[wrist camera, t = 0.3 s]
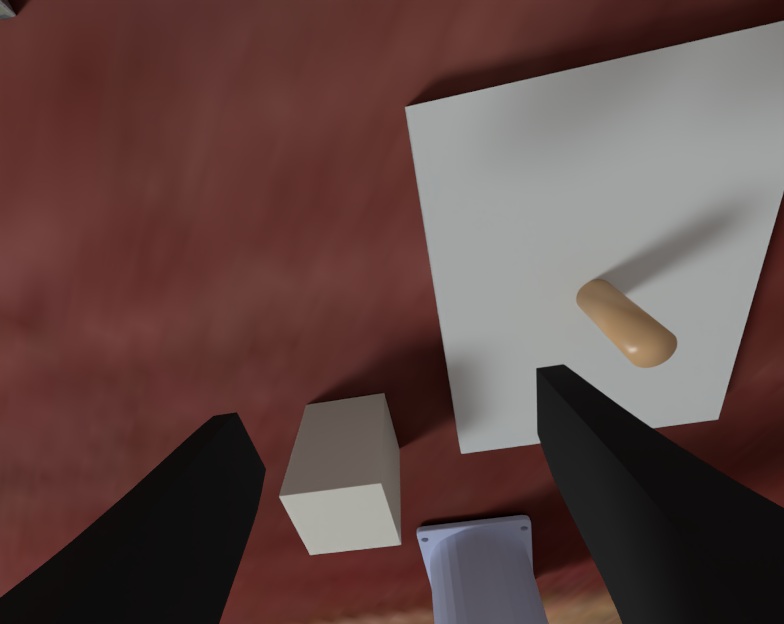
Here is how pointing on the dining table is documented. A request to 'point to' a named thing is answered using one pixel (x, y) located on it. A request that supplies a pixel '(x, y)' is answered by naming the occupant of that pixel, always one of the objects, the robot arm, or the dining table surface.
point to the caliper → (6, 10)
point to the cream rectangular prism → (345, 477)
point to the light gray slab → (602, 229)
